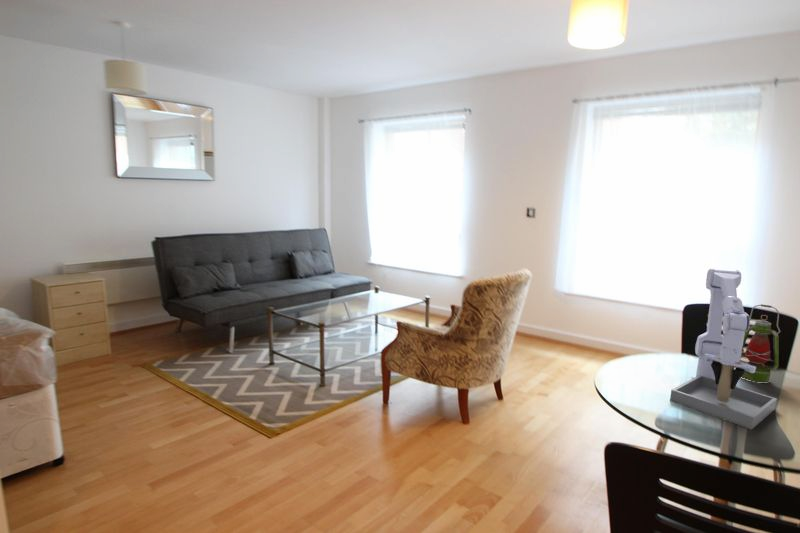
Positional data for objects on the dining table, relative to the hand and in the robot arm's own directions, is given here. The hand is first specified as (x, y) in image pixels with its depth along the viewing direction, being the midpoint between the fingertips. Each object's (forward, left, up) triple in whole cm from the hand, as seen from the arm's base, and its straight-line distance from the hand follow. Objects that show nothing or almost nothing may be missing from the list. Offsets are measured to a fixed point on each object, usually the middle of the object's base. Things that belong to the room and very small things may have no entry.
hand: (725, 385), depth 164 cm
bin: (0, 0, -7) cm, 7 cm away
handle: (0, 0, -6) cm, 6 cm away
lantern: (-39, -2, -7) cm, 40 cm away
